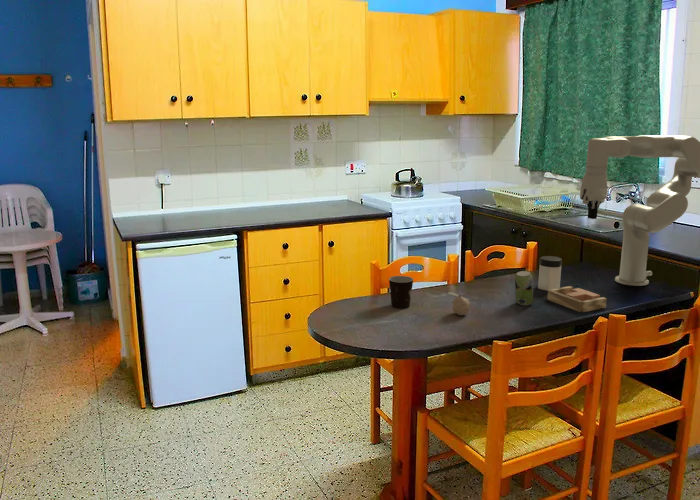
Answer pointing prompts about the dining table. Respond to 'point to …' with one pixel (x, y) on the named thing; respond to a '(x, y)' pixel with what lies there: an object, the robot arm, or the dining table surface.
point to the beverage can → (524, 288)
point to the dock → (574, 300)
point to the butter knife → (456, 295)
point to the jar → (549, 272)
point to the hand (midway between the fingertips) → (592, 218)
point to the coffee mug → (400, 291)
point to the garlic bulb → (460, 305)
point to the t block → (582, 294)
